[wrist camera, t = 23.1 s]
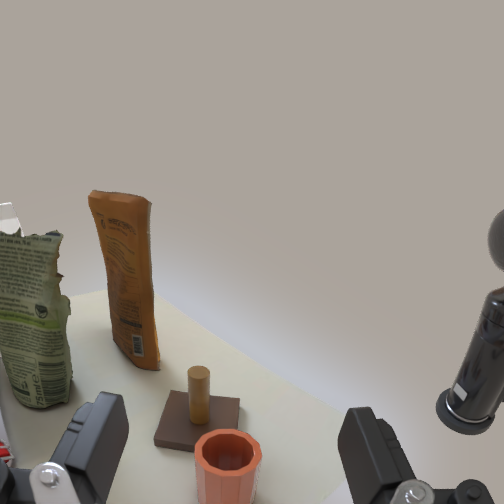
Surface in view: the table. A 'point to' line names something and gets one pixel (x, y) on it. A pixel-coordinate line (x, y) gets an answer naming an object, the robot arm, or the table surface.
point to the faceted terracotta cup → (227, 467)
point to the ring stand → (194, 413)
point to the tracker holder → (5, 452)
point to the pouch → (34, 319)
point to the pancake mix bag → (128, 272)
